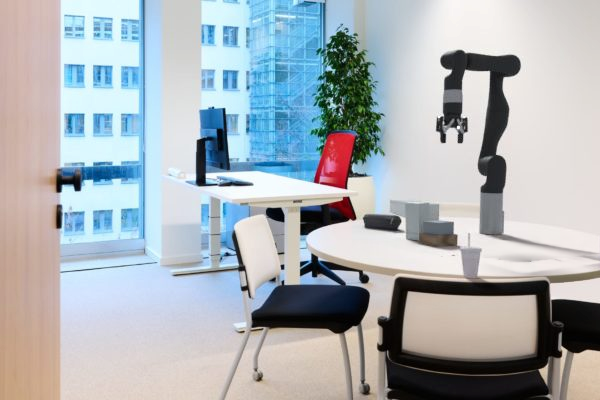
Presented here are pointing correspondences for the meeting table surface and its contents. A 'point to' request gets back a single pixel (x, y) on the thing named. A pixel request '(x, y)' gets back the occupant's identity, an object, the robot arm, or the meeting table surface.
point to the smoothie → (470, 259)
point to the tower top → (438, 227)
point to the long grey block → (399, 205)
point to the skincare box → (415, 218)
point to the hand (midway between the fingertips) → (451, 143)
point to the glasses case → (382, 221)
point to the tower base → (438, 240)
